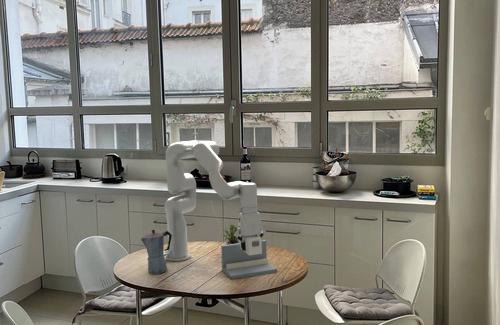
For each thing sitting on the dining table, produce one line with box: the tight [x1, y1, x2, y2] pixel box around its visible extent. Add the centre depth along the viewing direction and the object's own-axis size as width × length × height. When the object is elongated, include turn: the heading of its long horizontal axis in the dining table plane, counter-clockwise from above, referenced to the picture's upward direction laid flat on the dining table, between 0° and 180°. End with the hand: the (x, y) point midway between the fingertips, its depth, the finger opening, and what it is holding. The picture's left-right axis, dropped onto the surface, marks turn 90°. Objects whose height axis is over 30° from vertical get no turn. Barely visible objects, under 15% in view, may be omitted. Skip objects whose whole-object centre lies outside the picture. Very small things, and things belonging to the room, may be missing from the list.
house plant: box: [220, 222, 240, 245], centre depth 244 cm, size 14×14×16 cm
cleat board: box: [220, 239, 278, 280], centre depth 217 cm, size 22×14×12 cm, turn 110°
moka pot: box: [140, 229, 172, 275], centre depth 220 cm, size 10×15×20 cm, turn 130°
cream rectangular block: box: [239, 234, 262, 255], centre depth 214 cm, size 6×13×7 cm, turn 20°
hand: (250, 248), depth 214 cm, fingers closed on cream rectangular block, 6 cm apart
